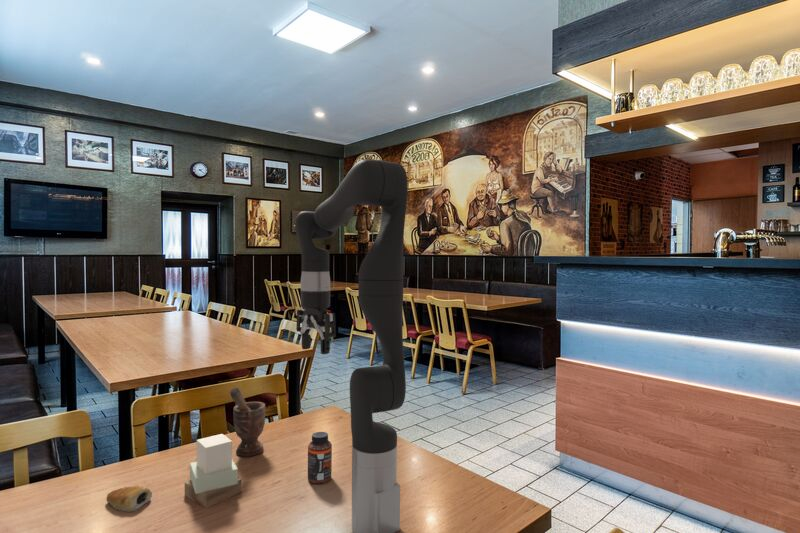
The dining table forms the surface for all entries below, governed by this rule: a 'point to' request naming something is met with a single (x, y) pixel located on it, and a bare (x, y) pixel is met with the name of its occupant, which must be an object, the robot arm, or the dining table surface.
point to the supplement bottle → (319, 458)
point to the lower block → (212, 493)
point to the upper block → (212, 478)
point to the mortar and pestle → (248, 423)
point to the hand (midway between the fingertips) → (315, 351)
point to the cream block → (214, 453)
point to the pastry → (129, 498)
